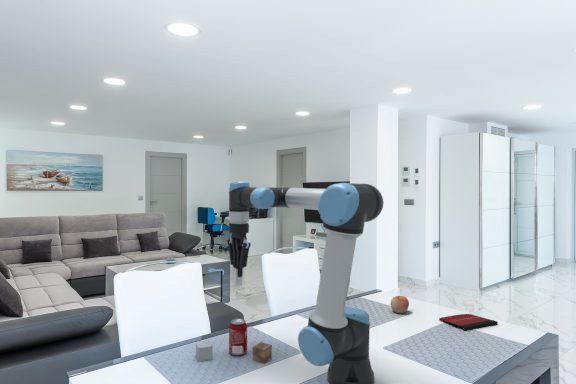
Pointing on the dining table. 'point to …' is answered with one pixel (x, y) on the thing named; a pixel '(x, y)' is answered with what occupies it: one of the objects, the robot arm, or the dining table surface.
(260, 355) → the walnut cube
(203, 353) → the grey cube
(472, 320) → the binder
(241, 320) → the soda can
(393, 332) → the dining table surface
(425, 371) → the dining table surface
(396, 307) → the apple
